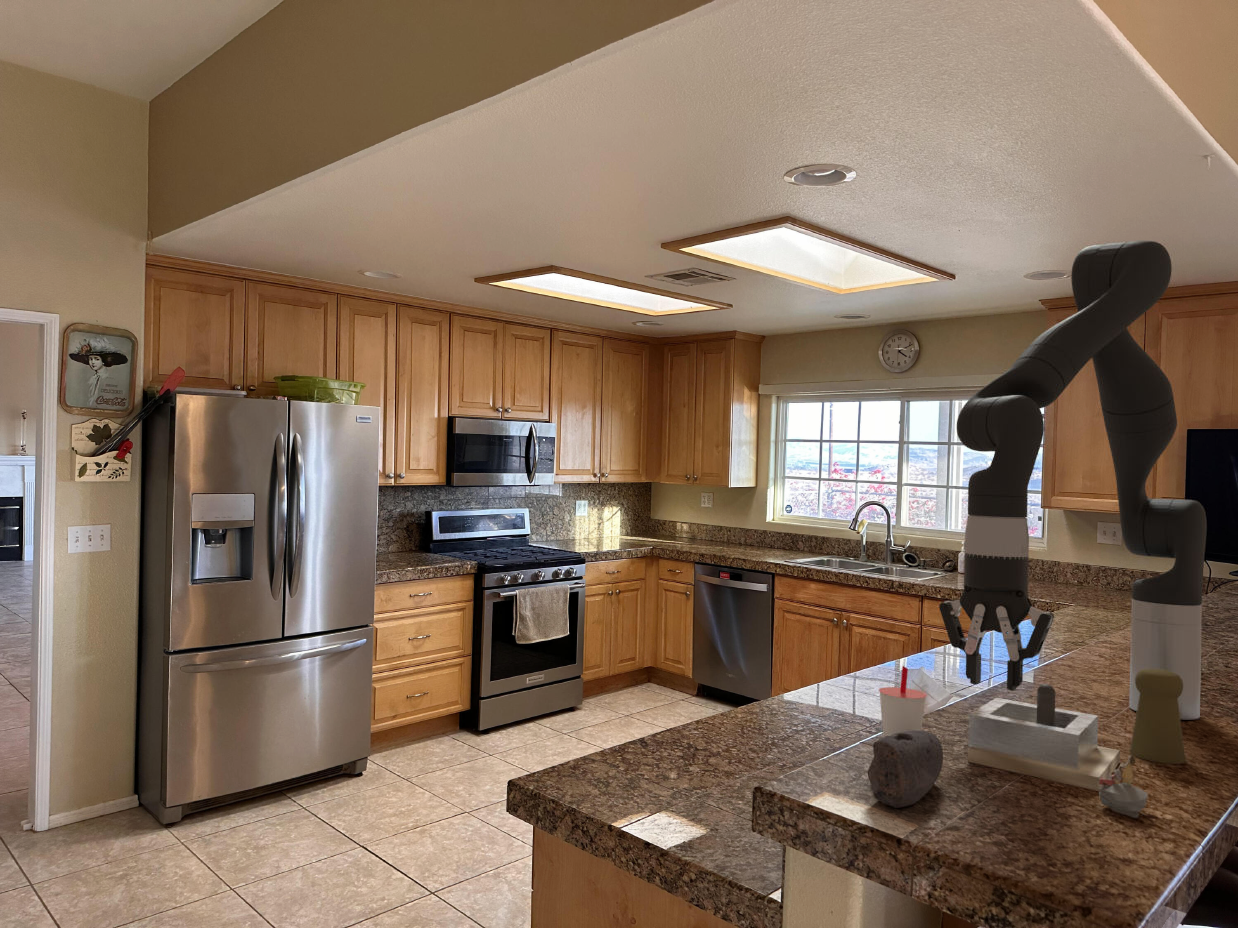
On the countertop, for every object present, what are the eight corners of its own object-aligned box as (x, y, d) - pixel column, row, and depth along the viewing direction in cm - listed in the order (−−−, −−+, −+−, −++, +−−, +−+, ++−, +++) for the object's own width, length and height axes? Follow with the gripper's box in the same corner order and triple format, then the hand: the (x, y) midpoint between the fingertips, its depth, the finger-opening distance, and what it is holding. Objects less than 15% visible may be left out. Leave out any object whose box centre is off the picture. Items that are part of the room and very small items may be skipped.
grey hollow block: (995, 727, 113) (996, 697, 113) (1097, 747, 105) (1098, 715, 105) (968, 746, 103) (969, 713, 103) (1077, 770, 96) (1078, 734, 96)
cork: (1194, 765, 104) (1196, 676, 105) (1140, 760, 105) (1142, 672, 106) (1172, 751, 110) (1174, 666, 110) (1122, 746, 111) (1124, 663, 112)
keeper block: (999, 737, 113) (1001, 666, 113) (1119, 762, 104) (1121, 685, 105) (968, 761, 102) (970, 682, 103) (1098, 790, 93) (1100, 704, 94)
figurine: (1144, 824, 84) (1146, 764, 84) (1094, 813, 87) (1095, 754, 87) (1150, 809, 88) (1151, 752, 89) (1102, 799, 91) (1103, 743, 91)
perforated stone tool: (914, 774, 97) (916, 713, 97) (960, 786, 93) (962, 723, 94) (854, 807, 86) (856, 738, 86) (904, 822, 82) (906, 750, 83)
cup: (921, 764, 100) (924, 663, 101) (927, 779, 95) (930, 672, 96) (874, 759, 102) (877, 659, 102) (878, 773, 96) (881, 668, 97)
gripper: (1063, 554, 106) (1061, 691, 106) (949, 546, 115) (946, 672, 115) (1050, 557, 101) (1047, 702, 100) (930, 548, 110) (927, 681, 109)
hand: (993, 685), depth 108 cm, fingers open, 4 cm apart
